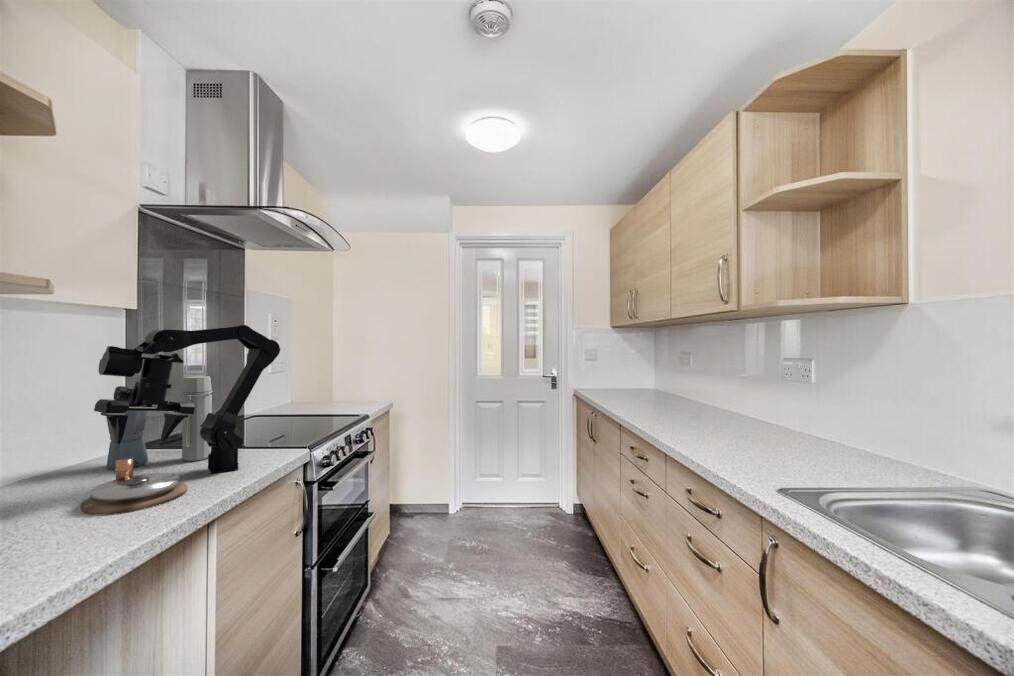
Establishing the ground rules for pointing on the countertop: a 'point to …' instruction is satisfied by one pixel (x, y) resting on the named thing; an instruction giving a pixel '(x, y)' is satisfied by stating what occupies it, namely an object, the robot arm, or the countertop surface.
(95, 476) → the countertop surface
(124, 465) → the handwheel
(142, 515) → the countertop surface
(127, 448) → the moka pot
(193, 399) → the water bottle
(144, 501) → the wheel base
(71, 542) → the countertop surface
